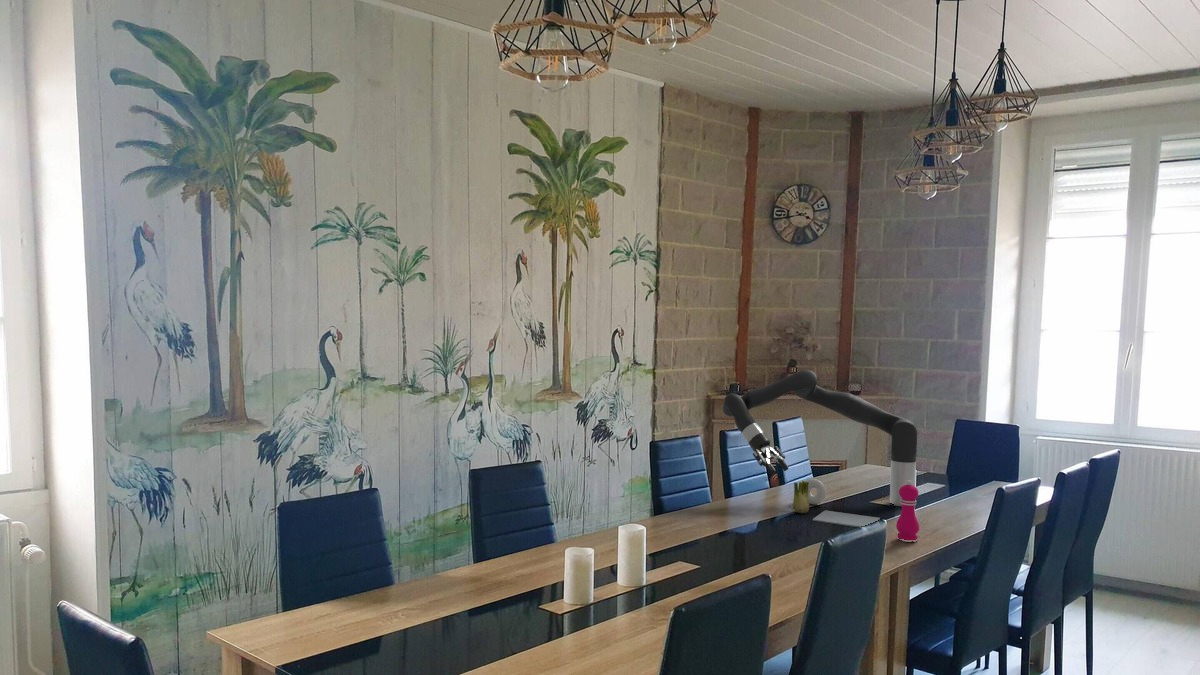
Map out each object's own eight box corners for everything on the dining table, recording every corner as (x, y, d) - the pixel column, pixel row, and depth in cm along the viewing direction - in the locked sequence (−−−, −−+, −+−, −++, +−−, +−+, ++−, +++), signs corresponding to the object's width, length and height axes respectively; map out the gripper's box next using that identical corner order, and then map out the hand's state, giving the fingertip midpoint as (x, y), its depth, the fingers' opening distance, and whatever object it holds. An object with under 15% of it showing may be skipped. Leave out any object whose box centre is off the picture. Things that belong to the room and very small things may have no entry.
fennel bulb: (793, 514, 311) (793, 481, 311) (792, 510, 316) (793, 479, 316) (809, 515, 310) (810, 482, 310) (808, 511, 315) (809, 480, 315)
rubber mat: (825, 511, 316) (825, 510, 316) (879, 519, 305) (879, 517, 305) (812, 520, 302) (812, 519, 302) (869, 529, 292) (869, 527, 292)
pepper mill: (919, 538, 280) (921, 479, 279) (918, 544, 274) (920, 483, 273) (896, 536, 283) (898, 477, 282) (894, 541, 277) (896, 481, 276)
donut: (827, 505, 325) (828, 480, 324) (823, 507, 322) (823, 481, 322) (804, 501, 332) (805, 476, 331) (800, 502, 329) (800, 477, 329)
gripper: (760, 441, 334) (785, 474, 326) (739, 445, 324) (763, 479, 316) (772, 429, 330) (797, 463, 322) (750, 433, 320) (775, 468, 312)
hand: (780, 471), depth 319 cm, fingers open, 8 cm apart
